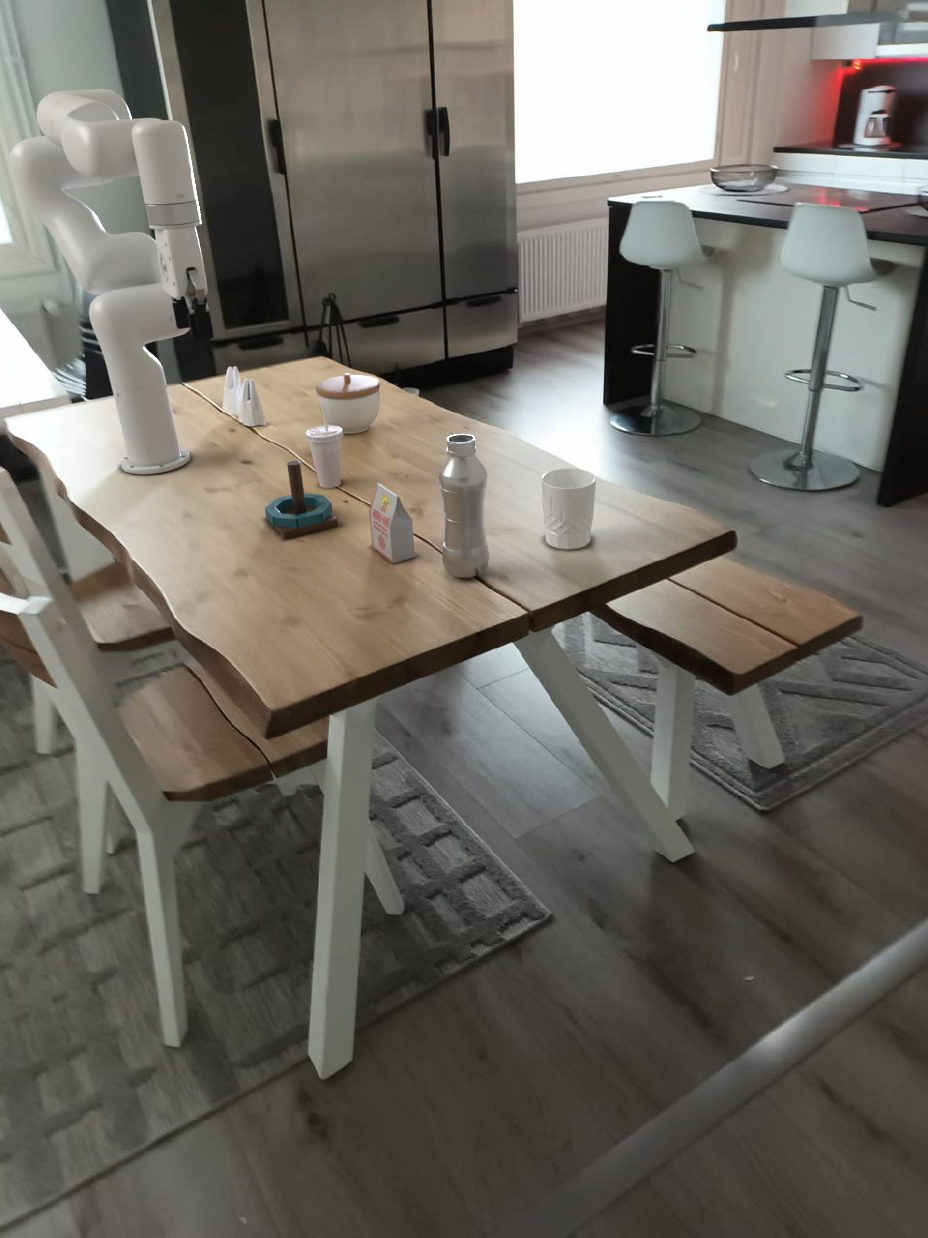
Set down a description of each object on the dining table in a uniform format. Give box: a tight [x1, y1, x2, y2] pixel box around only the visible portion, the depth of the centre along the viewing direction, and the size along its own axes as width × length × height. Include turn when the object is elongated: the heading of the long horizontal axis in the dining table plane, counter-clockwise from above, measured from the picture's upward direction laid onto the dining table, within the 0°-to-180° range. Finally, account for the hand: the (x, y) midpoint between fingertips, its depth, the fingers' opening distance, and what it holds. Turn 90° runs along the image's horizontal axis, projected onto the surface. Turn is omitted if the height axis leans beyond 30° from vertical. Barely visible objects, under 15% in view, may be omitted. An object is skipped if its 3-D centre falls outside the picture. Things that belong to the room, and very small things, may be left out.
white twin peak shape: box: [221, 365, 267, 427], centre depth 197 cm, size 12×4×11 cm, turn 40°
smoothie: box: [305, 406, 344, 489], centre depth 163 cm, size 6×6×14 cm
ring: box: [264, 492, 333, 528], centre depth 152 cm, size 10×10×2 cm
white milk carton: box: [368, 482, 416, 564], centre depth 140 cm, size 4×7×10 cm, turn 31°
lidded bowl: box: [315, 372, 381, 435], centre depth 190 cm, size 13×13×11 cm
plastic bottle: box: [438, 433, 490, 579], centre depth 130 cm, size 6×7×20 cm
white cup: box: [541, 468, 597, 550], centre depth 141 cm, size 8×8×10 cm
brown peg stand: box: [265, 460, 339, 540], centre depth 150 cm, size 9×9×10 cm
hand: (195, 333), depth 148 cm, fingers open, 9 cm apart
